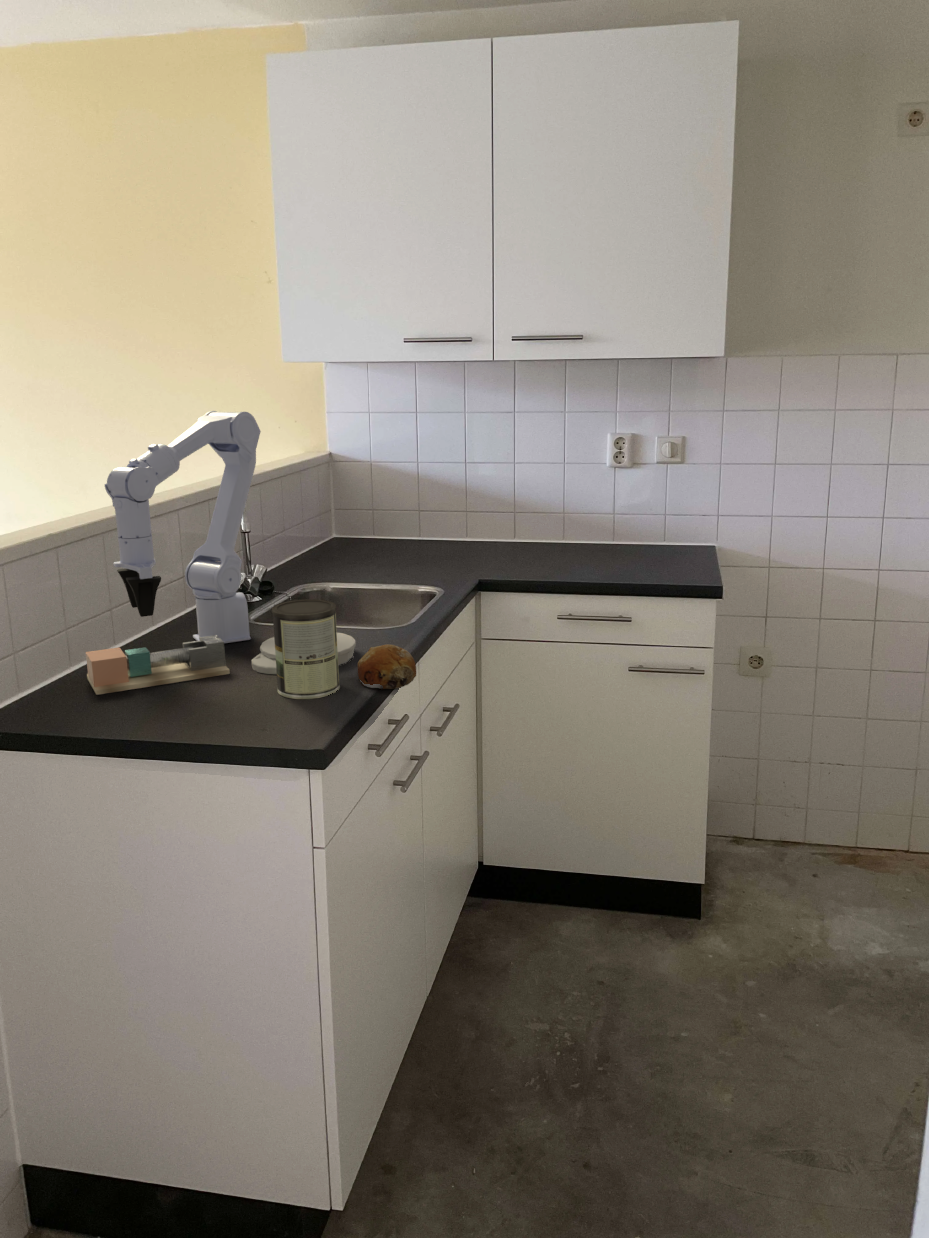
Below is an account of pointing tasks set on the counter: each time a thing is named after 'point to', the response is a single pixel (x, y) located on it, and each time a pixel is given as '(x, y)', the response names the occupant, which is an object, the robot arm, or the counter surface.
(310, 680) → the coffee can
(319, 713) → the counter surface
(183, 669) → the board
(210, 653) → the gray notched block
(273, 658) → the lid
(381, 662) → the bread roll
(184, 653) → the tube
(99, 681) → the socket
